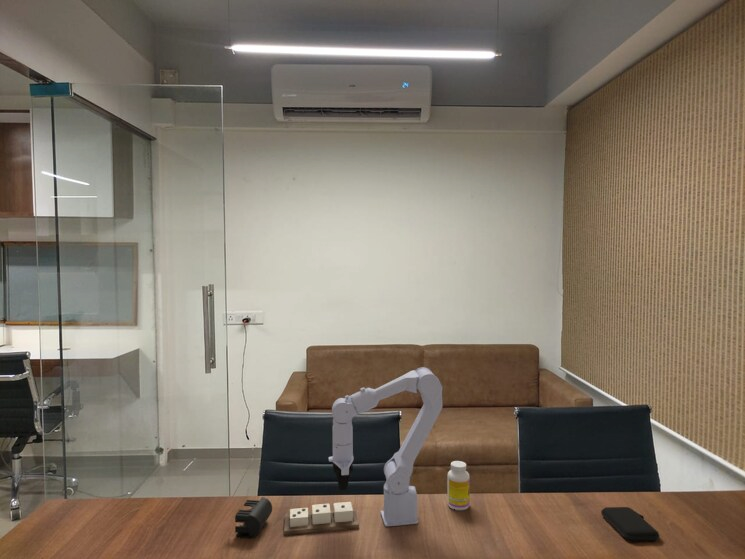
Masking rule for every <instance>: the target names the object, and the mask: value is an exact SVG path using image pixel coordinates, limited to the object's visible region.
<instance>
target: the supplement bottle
mask: <svg viewBox="0 0 745 559" xmlns="http://www.w3.org/2000/svg"><path fill="white" fill-rule="evenodd" d="M446 477H447V484H446V486H447V488H446V490H447V494H446V495H447V497H446V498H447V500H446V502H447V505H448V508H451V509H452V510H454V509H455V511H465V510H467V509H468V508H469V507H470V501H471V499H470V498H471V496H470V494H471V493H470V490H471V487H470V485H471V484H470V479H471V478H470V473H469V472H468V471H467V463H466V462H464V461H462V460H461V461H460V460H453V461H451V462H450V470H449V471H448V472H447V476H446Z"/></svg>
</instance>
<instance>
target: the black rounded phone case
mask: <svg viewBox="0 0 745 559" xmlns="http://www.w3.org/2000/svg"><path fill="white" fill-rule="evenodd" d="M600 512H601V516H602V517H603V518H604V519H605V520H606V521H607V522H608V523H609V524H610V525H611V527H612V528H614V530H615V531H616V532H617V533H618V532H619V533H620V534H621V535H622V536H623V537H622V536H621V535H620V534H619V533H618V534H619V535H620V536H621V537H622V538H623V539H624V538H625V539H624V540H626V541H627V542H629V543H646V542H647V543H649V542H650V543H654V542H656V541H658V540H659V539H660V534H659V531H657V530H656V529H655V528H654V527H653V526H652V525H651V524H650V523H648V522H647V521H646V520H645V518H644V515H642V514H640V513H639V512H637V511H635V510H634V509H632V508H631V507H628V506H613V507H612V506H611V507H610V506H608V507H604V508H602V509H601V511H600Z"/></svg>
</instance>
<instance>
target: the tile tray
mask: <svg viewBox="0 0 745 559" xmlns="http://www.w3.org/2000/svg"><path fill="white" fill-rule="evenodd" d="M352 509H353V521H349V522H337V523H335V519H334V509H330V511H331V523H326V524H315V525H313V522H312V511H308V526H299V527H290V513H285V514H284V525H283V526H284V527H283V528H284V530H283V535H284V536H291V535H292V536H293V535H303V534H305V535H306V534H315V533H325V532H327V533H328V532H336V531H348V530H358V529H360V524H359V518H358V515H357V510H356V508H355V507H352Z"/></svg>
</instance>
